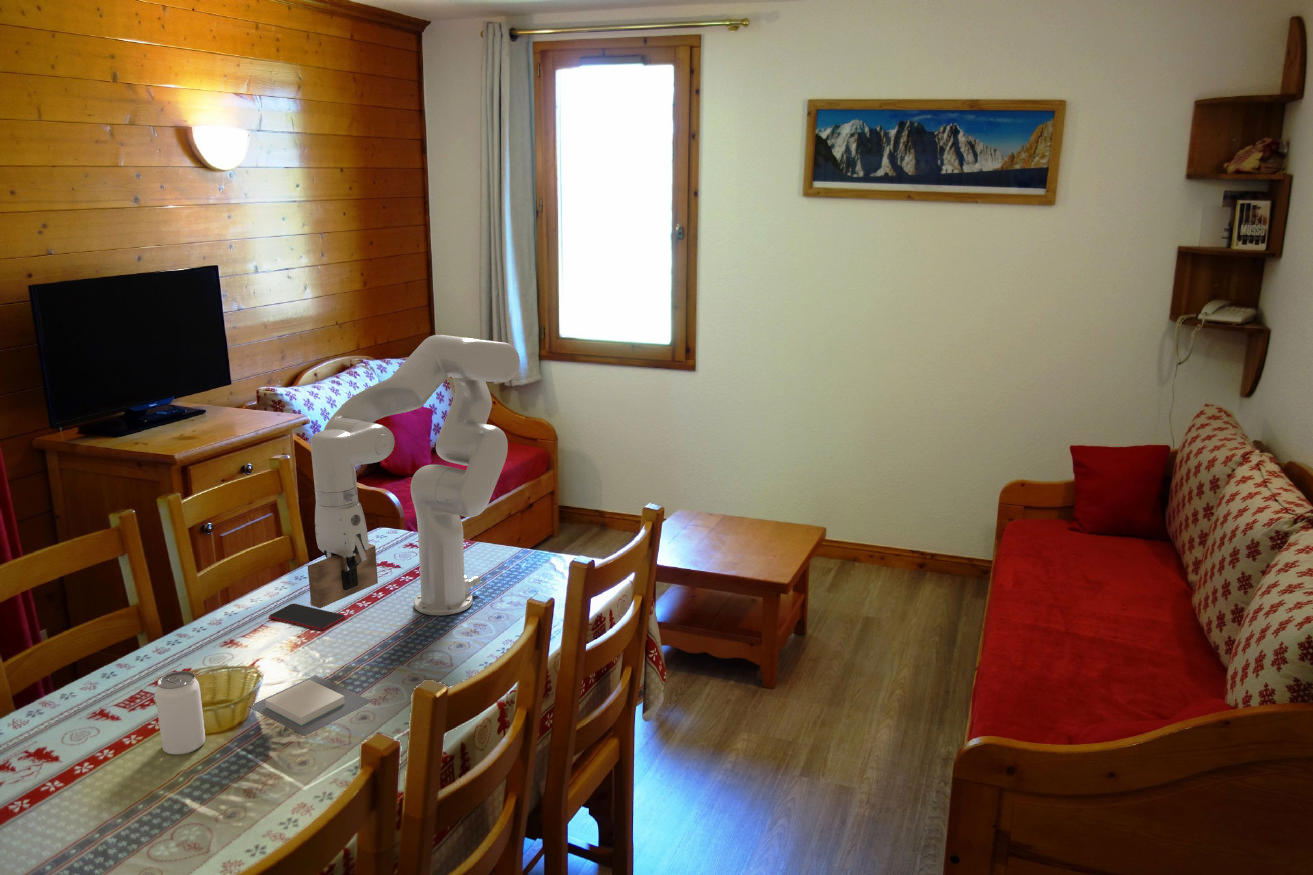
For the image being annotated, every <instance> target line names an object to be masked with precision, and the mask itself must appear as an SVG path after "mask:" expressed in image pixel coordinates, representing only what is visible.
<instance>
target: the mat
mask: <svg viewBox="0 0 1313 875" xmlns="http://www.w3.org/2000/svg"><path fill="white" fill-rule="evenodd" d="M307 680H311V681H313V682H316V683H318V684H320V685H322V686H324V687H326V688H328V689H330V690H333V691H335V692H337V693H339V694H341V695H343V696H344V697H345V704H344V705H342V706H340V707H338V708H336V709H334V710H332V711H330V712H328V713H326V714H325V715H323V716H321V717H319V718H317V719H315V720H313V721H311V722H309V723H307V724H305V725H303V726H300V725H298V724H296V723H294V722H292V721H291V720H289V719H287V718H285V717H283V716H281V715H279V714H277V713H275V712H273V711H271V710H269V709H267V708H266V702H265V700H266V699H268V698H270V697H272V696H274V695H277V694H279V693H281V692H283V691H285V690H287V689H290V688H292V687H294V686H296V685H298V684H300V683H302V682H305V681H307ZM372 702H373V701H372V700H371V699H368V698H365V697H363V696H361V695H359V694H357V693H355V692H352V691H351V690H349V689H346V688H344V687H343V686H340V685H337V684H336V683H333V682H332V681H329V680H327V679H326V678H325V679H324V678H323V677H320V676H318V675H315V674H314V675H313V676H310V677H308V678H306V679H304V680H303V681H300V682H298V683H295V684H293V685H292V686H289V687H288V688H285V689H283V690H280V691H278V692H276V693H274V694H272V695H270V696H268V697H265V698H262V699H261V700H258V701H256V702H254V703H253V704H254V705H253V706H252V708H251V709H252V710H253V711H255V712H258V713H260V714H262V715H263V716H265V717H267V718H269V719H271V720H273V721H274V722H277V723H279V724H281V725H283V726H285V727H287V728H289V729H290V730H292V731H294V732H296V733H297V734H300V735H302V736H304V737H306V736H308V735H310V734H311V733H313V732H316V731H318V730H319V729H321V728H323V727H326V726H327V725H329V724H331V723H332V722H335V721H337V720H339V719H341V718H342V717H345V716H346V715H348V714H350V713H352V712H354V711H356V710H359V709H360V708H362V707H364V706H366V705H369V703H372Z"/></svg>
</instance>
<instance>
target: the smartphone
mask: <svg viewBox="0 0 1313 875" xmlns="http://www.w3.org/2000/svg"><path fill="white" fill-rule="evenodd" d="M268 618H269V619H271V620H275V621H279V622H283V623H288V624H292V625H296V626H300V627H304V628H307V629H311V630H316V631H319V632H321V631H323V632H324V631H326V630H328V629H329V628H331V627H333V626H335V625H337V624H338V623H340V622H342V621H343V620H345V618H346V615H344V614H342V613H337V612H334V611H328V610H325V609H322V608H317V607H313V606H311V607H310V606H308V605H303V604H298V603H290V604H288V605H286V606H284V607H282V608H280V609H278V610H277V611H274V612H272V613H270V614H269V615H268Z"/></svg>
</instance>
